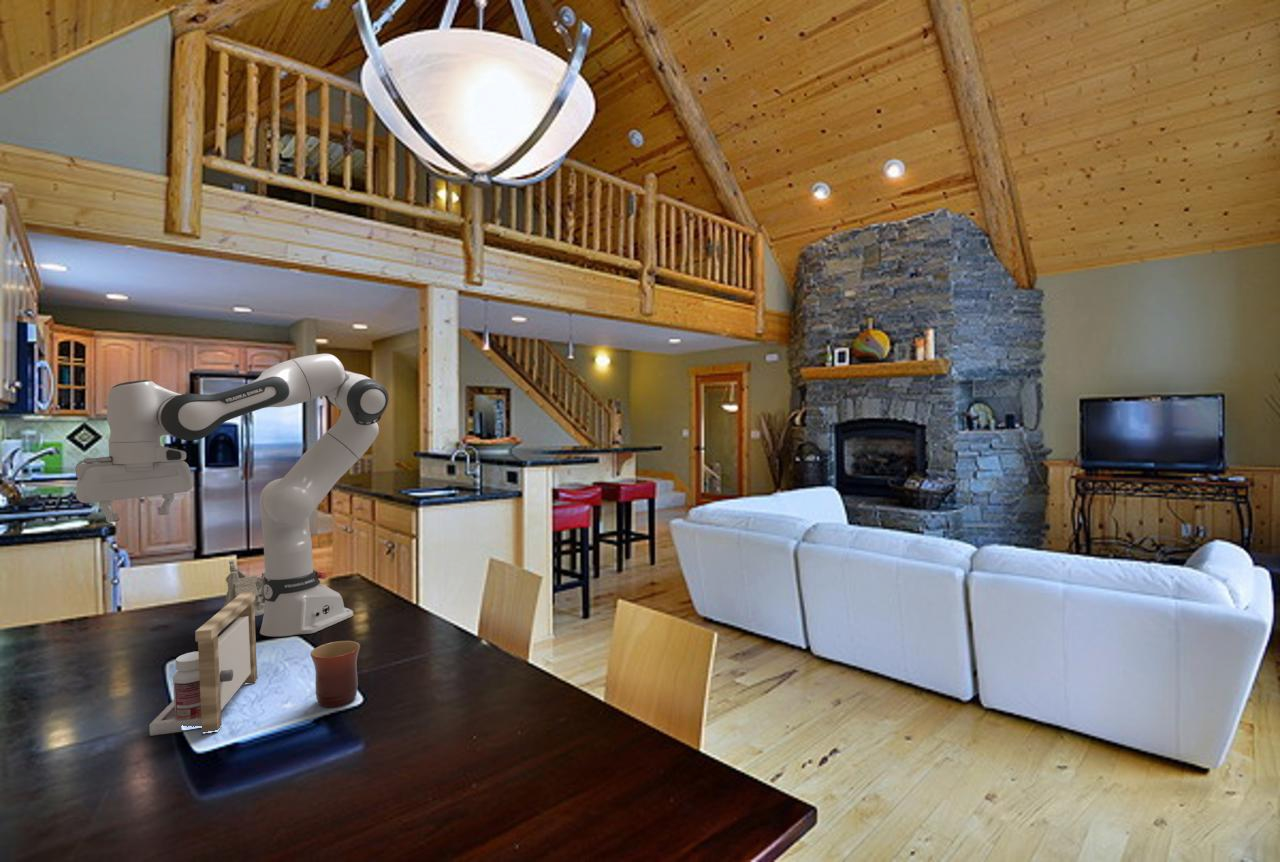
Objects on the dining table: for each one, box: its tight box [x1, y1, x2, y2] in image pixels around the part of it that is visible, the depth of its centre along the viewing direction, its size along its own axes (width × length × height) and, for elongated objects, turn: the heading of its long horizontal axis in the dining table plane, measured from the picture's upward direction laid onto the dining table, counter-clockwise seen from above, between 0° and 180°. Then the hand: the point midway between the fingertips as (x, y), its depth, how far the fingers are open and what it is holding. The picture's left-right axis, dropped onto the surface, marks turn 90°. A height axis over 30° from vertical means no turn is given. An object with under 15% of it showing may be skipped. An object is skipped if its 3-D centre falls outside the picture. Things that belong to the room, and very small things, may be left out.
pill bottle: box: [172, 651, 201, 719], centre depth 118 cm, size 6×6×11 cm
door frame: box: [194, 591, 258, 733], centre depth 122 cm, size 25×2×19 cm, turn 16°
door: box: [218, 616, 251, 711], centre depth 123 cm, size 18×3×12 cm, turn 16°
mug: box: [310, 640, 361, 708], centre depth 125 cm, size 12×9×10 cm
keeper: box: [148, 699, 202, 737], centre depth 118 cm, size 10×9×2 cm
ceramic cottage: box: [221, 559, 265, 621], centre depth 183 cm, size 16×16×15 cm
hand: (138, 518), depth 138 cm, fingers open, 8 cm apart
